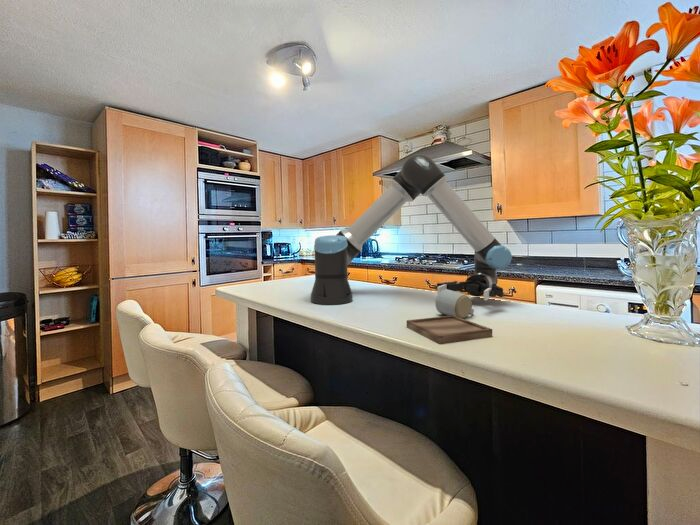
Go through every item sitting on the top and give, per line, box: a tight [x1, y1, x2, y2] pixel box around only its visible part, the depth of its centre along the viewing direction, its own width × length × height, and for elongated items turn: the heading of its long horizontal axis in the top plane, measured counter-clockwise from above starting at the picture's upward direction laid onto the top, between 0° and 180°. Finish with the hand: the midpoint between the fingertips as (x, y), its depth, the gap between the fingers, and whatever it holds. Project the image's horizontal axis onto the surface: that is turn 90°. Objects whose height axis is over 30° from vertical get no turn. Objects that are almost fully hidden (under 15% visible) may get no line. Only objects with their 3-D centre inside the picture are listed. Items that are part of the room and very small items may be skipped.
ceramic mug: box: [435, 289, 475, 319], centre depth 92 cm, size 10×8×7 cm
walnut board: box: [406, 315, 493, 345], centre depth 76 cm, size 14×14×2 cm
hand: (460, 293), depth 95 cm, fingers open, 13 cm apart
